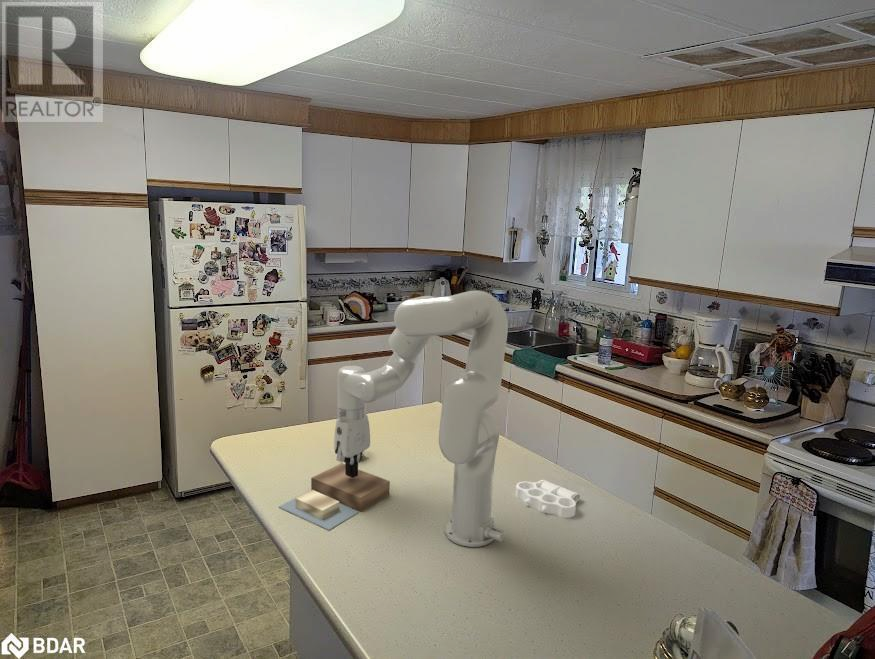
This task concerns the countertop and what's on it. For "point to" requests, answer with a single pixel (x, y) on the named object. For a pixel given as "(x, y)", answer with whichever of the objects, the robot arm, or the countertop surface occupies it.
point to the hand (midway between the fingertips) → (351, 475)
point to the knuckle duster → (548, 497)
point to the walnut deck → (351, 487)
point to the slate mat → (326, 523)
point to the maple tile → (317, 504)
